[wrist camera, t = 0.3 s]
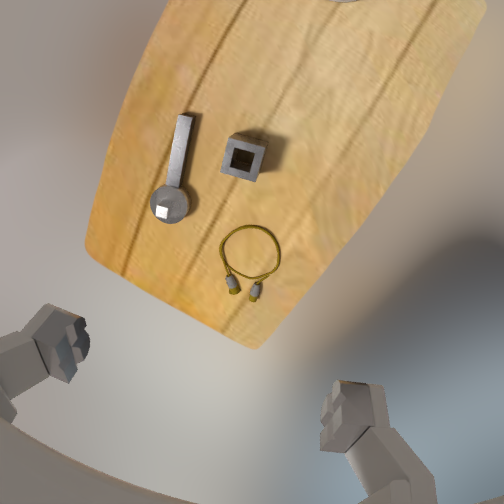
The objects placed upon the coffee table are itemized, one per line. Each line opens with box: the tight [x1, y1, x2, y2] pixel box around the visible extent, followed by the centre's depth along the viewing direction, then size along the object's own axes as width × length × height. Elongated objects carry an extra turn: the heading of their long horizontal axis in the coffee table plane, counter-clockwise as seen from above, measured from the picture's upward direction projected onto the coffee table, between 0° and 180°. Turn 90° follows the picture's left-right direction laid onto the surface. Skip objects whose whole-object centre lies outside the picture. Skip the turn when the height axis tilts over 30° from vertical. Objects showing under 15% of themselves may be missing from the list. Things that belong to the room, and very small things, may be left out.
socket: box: [220, 133, 268, 182], centre depth 49 cm, size 6×6×5 cm
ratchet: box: [150, 113, 196, 224], centre depth 52 cm, size 20×7×6 cm, turn 165°
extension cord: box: [219, 225, 280, 302], centre depth 61 cm, size 12×16×2 cm
